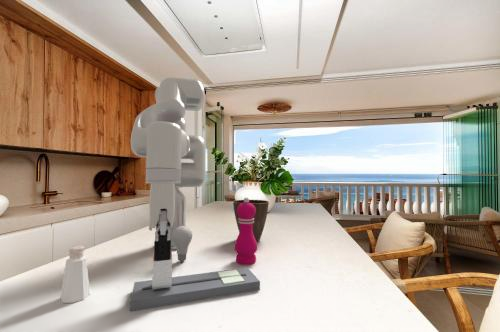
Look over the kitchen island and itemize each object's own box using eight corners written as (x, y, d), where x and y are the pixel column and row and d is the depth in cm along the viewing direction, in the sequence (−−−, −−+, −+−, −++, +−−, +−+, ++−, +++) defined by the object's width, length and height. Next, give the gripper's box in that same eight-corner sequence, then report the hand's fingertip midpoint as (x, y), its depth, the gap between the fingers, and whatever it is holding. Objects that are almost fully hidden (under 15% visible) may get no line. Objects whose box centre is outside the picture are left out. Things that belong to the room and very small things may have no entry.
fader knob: (152, 281, 57) (153, 252, 57) (170, 279, 58) (171, 250, 58) (152, 289, 53) (152, 257, 53) (171, 286, 55) (172, 255, 55)
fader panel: (134, 290, 58) (134, 281, 58) (247, 274, 67) (247, 266, 67) (129, 311, 49) (130, 299, 49) (259, 289, 59) (259, 280, 59)
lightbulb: (195, 259, 79) (196, 225, 79) (184, 266, 73) (185, 229, 73) (179, 257, 81) (179, 223, 81) (167, 263, 75) (168, 227, 75)
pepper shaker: (56, 305, 51) (58, 252, 51) (64, 294, 56) (65, 245, 56) (87, 300, 53) (88, 249, 54) (92, 289, 58) (93, 242, 59)
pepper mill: (255, 266, 73) (255, 199, 74) (231, 264, 75) (232, 198, 76) (259, 258, 81) (259, 196, 81) (237, 256, 82) (238, 196, 83)
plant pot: (227, 237, 106) (228, 200, 107) (258, 234, 113) (258, 198, 113) (241, 246, 93) (241, 204, 93) (275, 242, 99) (275, 202, 100)
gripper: (147, 177, 63) (146, 245, 62) (143, 176, 47) (141, 268, 46) (178, 177, 66) (177, 242, 65) (184, 176, 49) (182, 264, 48)
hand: (162, 253), depth 55 cm, fingers open, 9 cm apart
